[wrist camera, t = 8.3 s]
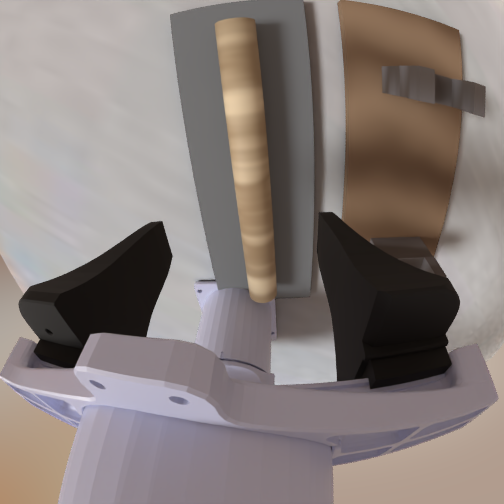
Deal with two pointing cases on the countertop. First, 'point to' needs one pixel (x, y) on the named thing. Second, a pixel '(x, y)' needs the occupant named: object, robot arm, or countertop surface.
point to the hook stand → (401, 127)
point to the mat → (277, 128)
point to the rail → (248, 150)
